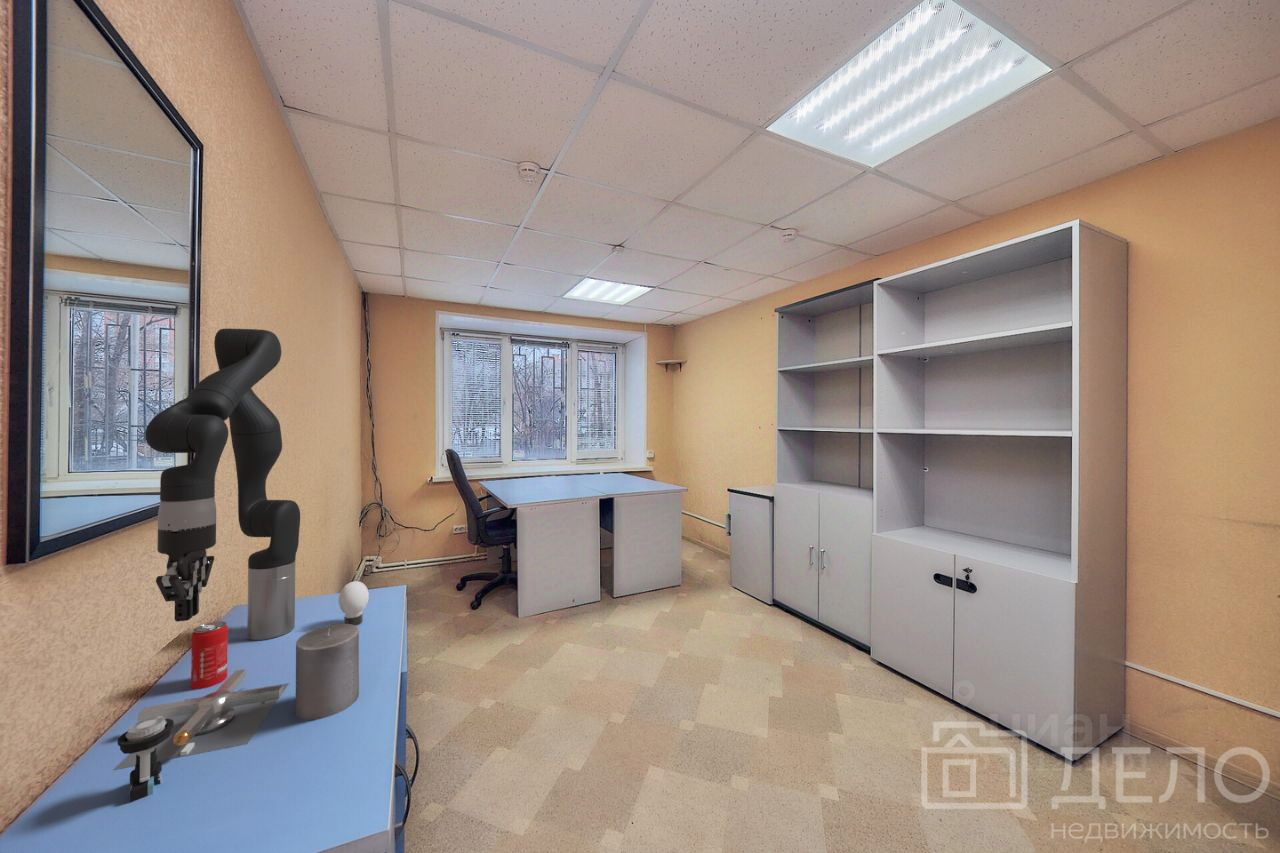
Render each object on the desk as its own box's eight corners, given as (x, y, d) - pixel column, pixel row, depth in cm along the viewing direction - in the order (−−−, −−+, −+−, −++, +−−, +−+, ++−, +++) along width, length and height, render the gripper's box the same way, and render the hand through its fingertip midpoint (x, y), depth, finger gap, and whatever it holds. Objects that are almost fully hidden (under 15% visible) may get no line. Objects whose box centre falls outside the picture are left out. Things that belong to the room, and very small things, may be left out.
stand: (185, 705, 83) (185, 696, 83) (289, 687, 89) (289, 679, 89) (112, 776, 66) (113, 765, 66) (247, 749, 72) (247, 739, 72)
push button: (121, 787, 64) (121, 718, 64) (174, 768, 68) (175, 703, 68) (113, 817, 59) (114, 742, 59) (171, 794, 63) (172, 724, 63)
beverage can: (204, 695, 86) (205, 633, 86) (183, 692, 87) (184, 630, 87) (233, 680, 91) (234, 622, 91) (214, 677, 92) (214, 619, 92)
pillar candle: (317, 693, 87) (316, 617, 87) (369, 691, 88) (369, 616, 88) (281, 727, 77) (281, 642, 77) (340, 724, 78) (340, 640, 78)
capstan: (176, 699, 83) (176, 678, 83) (299, 680, 90) (299, 660, 90) (92, 778, 65) (93, 751, 65) (255, 746, 71) (255, 721, 71)
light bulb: (340, 631, 113) (341, 588, 113) (336, 622, 118) (336, 581, 118) (371, 624, 117) (371, 582, 117) (365, 615, 122) (366, 575, 122)
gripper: (183, 517, 86) (182, 606, 86) (134, 533, 74) (133, 638, 74) (232, 515, 89) (231, 601, 89) (192, 530, 76) (191, 631, 76)
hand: (186, 617), depth 81 cm, fingers closed
